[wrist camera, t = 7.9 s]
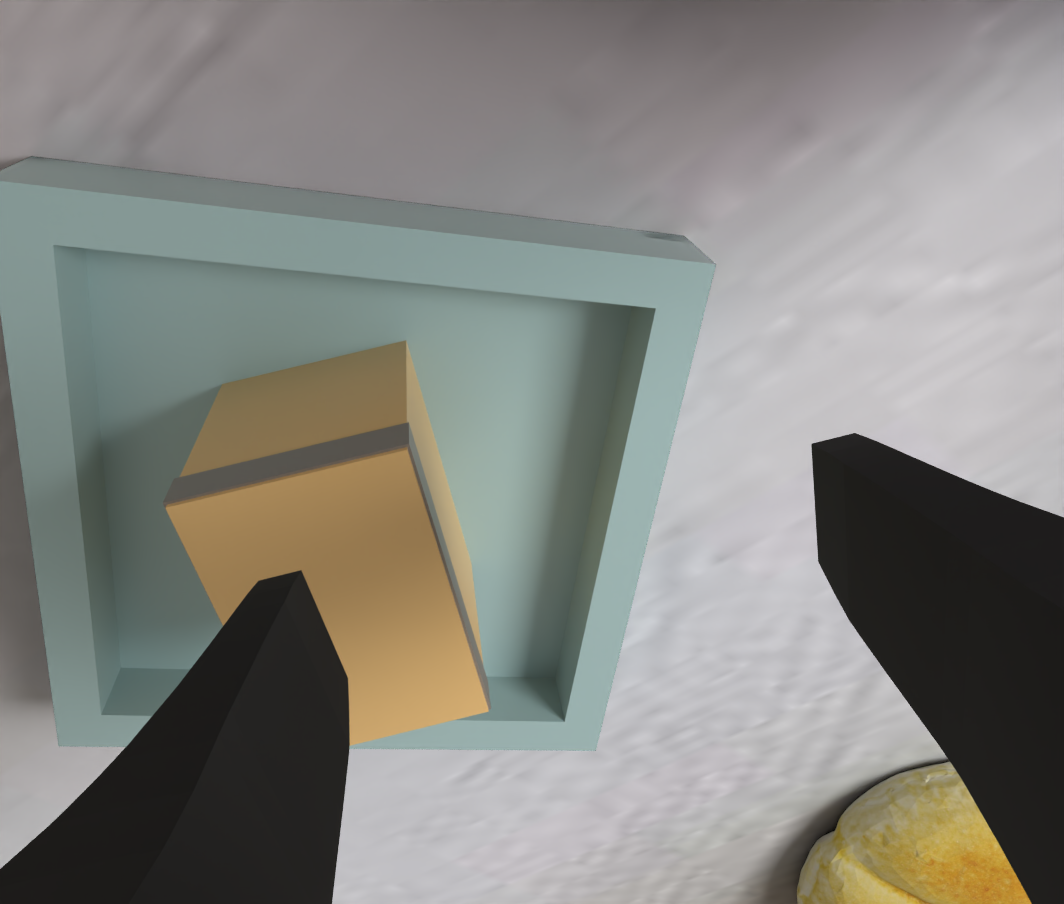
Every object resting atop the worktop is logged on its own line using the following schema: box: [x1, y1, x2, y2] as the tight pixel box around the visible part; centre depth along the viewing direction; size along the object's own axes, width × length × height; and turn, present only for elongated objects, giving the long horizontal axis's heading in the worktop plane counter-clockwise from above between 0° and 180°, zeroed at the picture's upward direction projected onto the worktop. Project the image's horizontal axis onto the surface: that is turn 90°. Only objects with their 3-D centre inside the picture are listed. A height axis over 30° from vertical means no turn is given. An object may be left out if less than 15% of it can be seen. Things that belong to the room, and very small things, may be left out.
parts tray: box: [0, 156, 716, 751], centre depth 20 cm, size 13×13×2 cm
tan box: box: [163, 340, 491, 746], centre depth 18 cm, size 4×6×5 cm
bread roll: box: [797, 762, 1032, 904], centre depth 28 cm, size 8×9×4 cm
